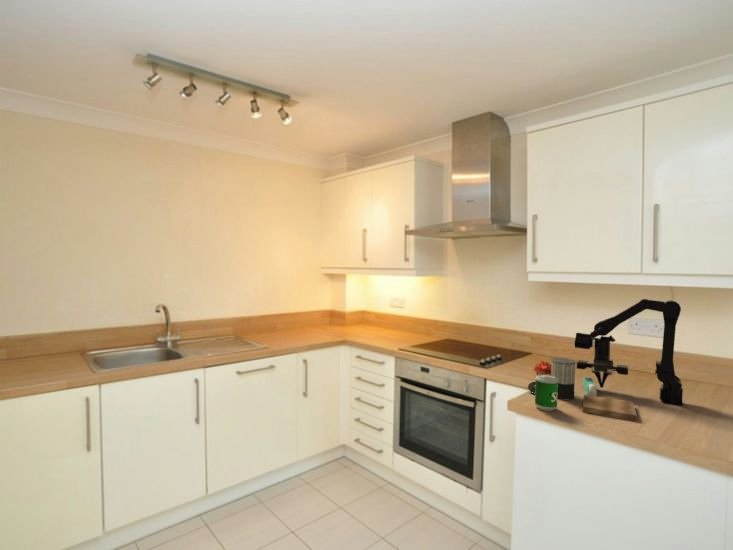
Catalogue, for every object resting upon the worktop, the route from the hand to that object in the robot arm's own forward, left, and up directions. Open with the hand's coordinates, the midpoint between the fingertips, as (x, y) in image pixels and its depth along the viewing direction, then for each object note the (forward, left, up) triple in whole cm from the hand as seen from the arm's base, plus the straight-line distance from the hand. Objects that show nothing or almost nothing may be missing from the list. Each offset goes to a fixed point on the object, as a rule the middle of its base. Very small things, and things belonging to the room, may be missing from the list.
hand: (601, 387), depth 169 cm
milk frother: (+18, +19, -2) cm, 26 cm away
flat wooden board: (-1, +26, -1) cm, 26 cm away
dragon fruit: (+23, -7, -2) cm, 24 cm away
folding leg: (+4, +7, -1) cm, 8 cm away
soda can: (+19, +37, -2) cm, 41 cm away
